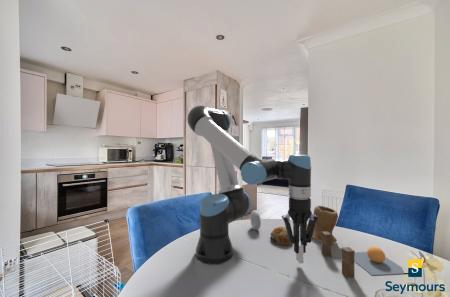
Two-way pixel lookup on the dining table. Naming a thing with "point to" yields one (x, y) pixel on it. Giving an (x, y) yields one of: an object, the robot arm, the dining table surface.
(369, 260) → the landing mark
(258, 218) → the donut
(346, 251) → the gate post right
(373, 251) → the ball
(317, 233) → the brown boot
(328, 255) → the gate post left
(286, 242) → the bread roll
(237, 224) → the dining table surface
